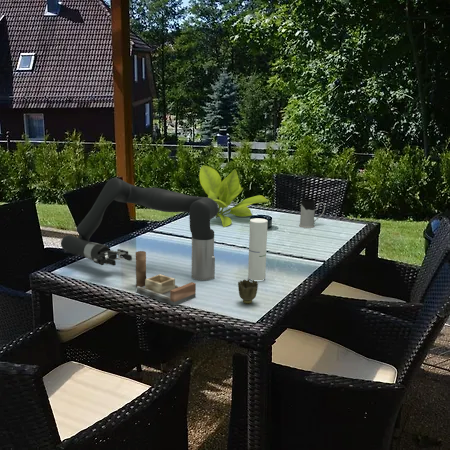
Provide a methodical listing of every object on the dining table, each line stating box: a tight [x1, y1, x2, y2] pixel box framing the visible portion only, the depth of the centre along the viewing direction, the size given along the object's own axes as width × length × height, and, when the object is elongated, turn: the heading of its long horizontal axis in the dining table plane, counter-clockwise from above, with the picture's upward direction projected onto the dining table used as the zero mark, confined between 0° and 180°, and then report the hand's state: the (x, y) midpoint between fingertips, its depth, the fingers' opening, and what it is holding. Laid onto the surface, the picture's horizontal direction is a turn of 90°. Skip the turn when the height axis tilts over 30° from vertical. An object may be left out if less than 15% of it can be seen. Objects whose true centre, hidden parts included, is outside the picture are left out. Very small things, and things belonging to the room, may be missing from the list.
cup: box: [237, 279, 259, 305], centre depth 208 cm, size 8×7×8 cm
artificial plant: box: [198, 165, 270, 228], centre depth 330 cm, size 42×43×30 cm
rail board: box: [136, 281, 197, 307], centre depth 214 cm, size 20×12×6 cm, turn 51°
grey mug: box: [298, 198, 326, 229], centre depth 319 cm, size 9×14×15 cm, turn 96°
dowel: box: [135, 250, 147, 288], centre depth 221 cm, size 4×4×14 cm
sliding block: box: [145, 273, 176, 294], centre depth 216 cm, size 8×8×4 cm
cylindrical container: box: [247, 217, 268, 280], centre depth 231 cm, size 7×7×25 cm
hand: (123, 260), depth 227 cm, fingers open, 8 cm apart
